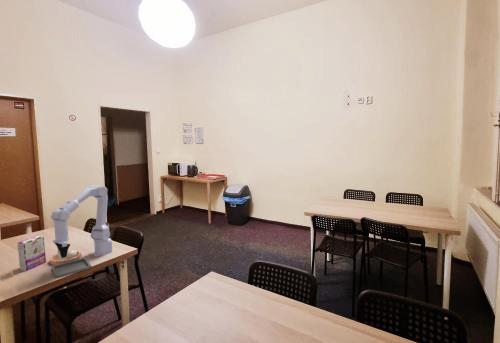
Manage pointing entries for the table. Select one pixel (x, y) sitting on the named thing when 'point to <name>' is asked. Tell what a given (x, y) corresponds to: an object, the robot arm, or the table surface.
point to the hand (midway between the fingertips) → (63, 255)
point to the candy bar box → (31, 253)
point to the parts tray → (71, 267)
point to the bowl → (56, 261)
